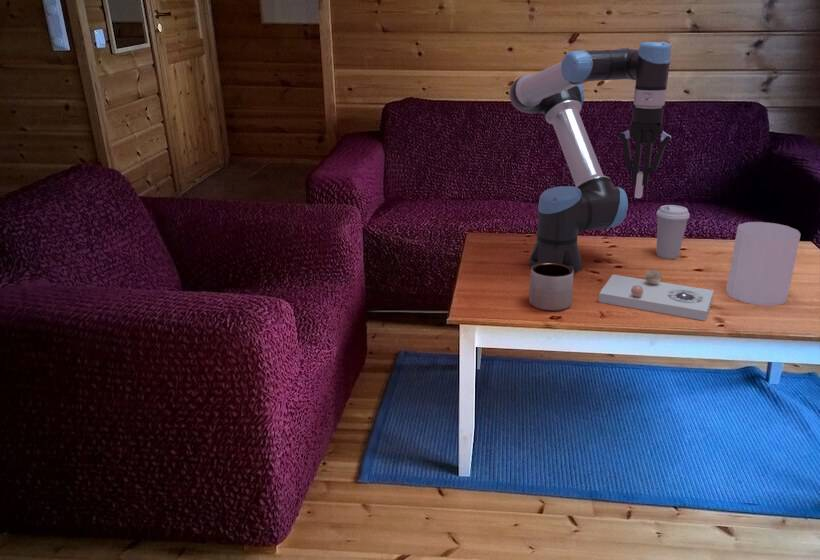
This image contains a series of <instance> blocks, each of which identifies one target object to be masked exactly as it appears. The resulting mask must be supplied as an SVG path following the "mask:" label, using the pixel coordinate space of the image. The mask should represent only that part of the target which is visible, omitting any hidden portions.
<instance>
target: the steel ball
mask: <svg viewBox="0 0 820 560" xmlns="http://www.w3.org/2000/svg"><path fill="white" fill-rule="evenodd" d="M676 297H677V298H680V299H683V300H691V299H690V296H689V294H687V293H685V292H681V293H679V294H678V295H677V296H676Z"/></svg>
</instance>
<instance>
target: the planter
mask: <svg viewBox="0 0 820 560" xmlns="http://www.w3.org/2000/svg"><path fill="white" fill-rule="evenodd" d="M573 273H574V270H573V269H572V268H571V267H570V266H567V265H565V264H560V263H552V262H546V263H539V264H536V265H534V266H532V267H531V268H530V278H529V279H530V280H529V281H530V282H529V294H528V295H529V296H528V300H529V304H530V305H532V306H533V307H534V308H536V309H538V310H541V309H542V311H546V310H547V311H548V312H558V311H563V310H565V309H568V308H569V307H570V306H571V305H572V301H573V300H572V299H573V286H574V274H575V273H574V274H573Z"/></svg>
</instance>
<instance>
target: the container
mask: <svg viewBox="0 0 820 560" xmlns="http://www.w3.org/2000/svg"><path fill="white" fill-rule="evenodd" d="M800 239H801V232H800V231H799V230H798V229H796V228H793V227H791V226H789V225H784V224H780V223H774V222H764V221H747V222H743V223H740V224H738V226H737V228H736V234H735V240H734V245H733V251H732V257H731V261H730V262H731V263H730V268H729V269H730V270H729V275H728V280H727V284H726V285H727V286H726V291H725V292H726V293H727V295H728V296H730V298H733V299H735V300H737V301H739V302H742V303H747V304H751V305H756V306H770V307H772V306H777V305H783V304H784V303H785V302H786V301H787V300H788V296H789V291H790V288H791V287H790V286H791V282H792V277H793V273H794V272H793V271H794V268H795V263H796V260H797V259H796V258H797V254H798V250H799V243H800V241H801V240H800Z"/></svg>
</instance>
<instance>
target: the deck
mask: <svg viewBox="0 0 820 560" xmlns="http://www.w3.org/2000/svg"><path fill="white" fill-rule="evenodd" d="M635 285H639V286H641V287H642V288H643V294H642V295H641V296H640V297H635V296H633V295H632V293H631V289H632V287H633V286H635ZM681 292H685V293H687V294H689V296H690V299H691V300H683V299H680V298H677V297H676V296H677V295H678V294H679V293H681ZM714 292H715V291H714V290H713V289H708V288H707V289H706V288H702V287H701V288H700V287H694V286H689V285H682V284H677V283H675V284H674V283H669V282H662V281H659V282H658V283H657V284H649V283H648V282H647V281H646V279H644V278H636V277H630V276H625V275H619V274H618V275H617V274H611V276H610V277H609V279H608V280H607V282H606V283H605V284H604V286H603V287H602V288H601V290H600V291H599V294H598V302H599V303H603V304H608V305H612V306H613V305H614V306H620V307H626V308H629V309H636V310H642V311H647V312H653V313H657V314H659V313H660V314H663V315H670V316H675V317H681V318H687V319H691V320H696V321H697V320H698V321H702V322H703V321H704V322H706V321H707V317H708V315H709V310H710V307H711V305H712V302H713V297H714Z"/></svg>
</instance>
